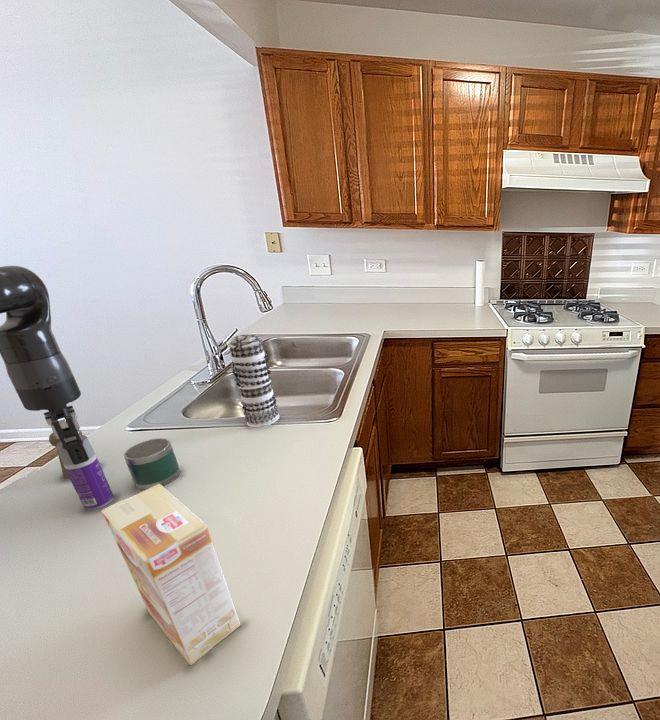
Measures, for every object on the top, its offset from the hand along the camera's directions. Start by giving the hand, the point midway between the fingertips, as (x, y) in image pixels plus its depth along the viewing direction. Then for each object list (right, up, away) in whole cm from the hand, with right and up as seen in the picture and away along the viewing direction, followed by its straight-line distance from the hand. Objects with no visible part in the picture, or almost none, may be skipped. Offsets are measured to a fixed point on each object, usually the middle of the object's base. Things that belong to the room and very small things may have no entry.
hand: (78, 453), depth 78 cm
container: (0, -11, +4) cm, 12 cm away
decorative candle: (+17, +1, +36) cm, 40 cm away
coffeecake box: (+36, -20, -18) cm, 45 cm away
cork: (-14, -8, +14) cm, 21 cm away
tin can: (+6, -8, +11) cm, 16 cm away
